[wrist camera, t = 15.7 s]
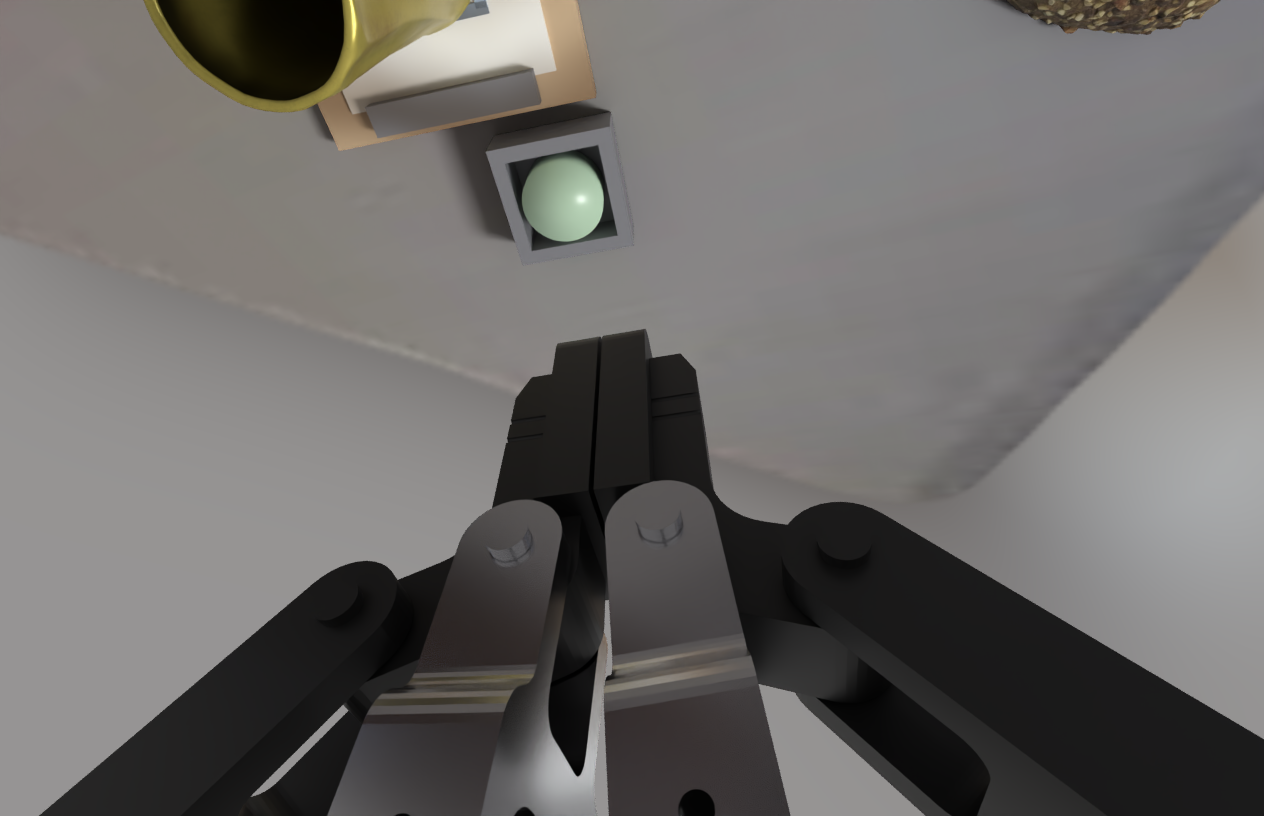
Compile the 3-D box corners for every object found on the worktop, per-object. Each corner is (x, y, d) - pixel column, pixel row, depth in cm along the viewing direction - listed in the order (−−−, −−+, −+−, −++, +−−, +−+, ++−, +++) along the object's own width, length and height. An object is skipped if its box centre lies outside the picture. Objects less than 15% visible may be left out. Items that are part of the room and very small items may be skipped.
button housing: (494, 135, 33) (485, 151, 31) (610, 111, 32) (609, 126, 30) (528, 244, 36) (522, 265, 34) (633, 225, 36) (633, 245, 34)
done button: (517, 157, 33) (511, 171, 31) (594, 141, 32) (593, 155, 31) (539, 231, 35) (534, 247, 33) (611, 218, 35) (610, 233, 33)
